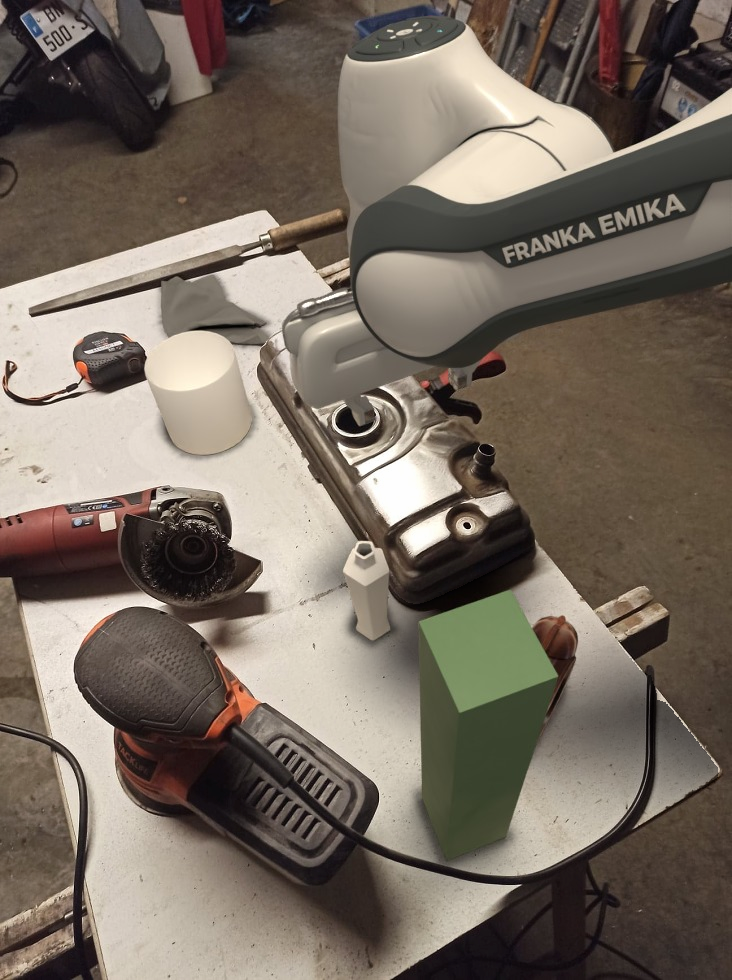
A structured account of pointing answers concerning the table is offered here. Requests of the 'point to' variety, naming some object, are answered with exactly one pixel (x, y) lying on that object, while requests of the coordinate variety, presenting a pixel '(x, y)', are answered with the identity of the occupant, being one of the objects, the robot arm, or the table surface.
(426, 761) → the block
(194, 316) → the cloth
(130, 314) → the table surface
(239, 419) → the cup
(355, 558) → the white faceted bottle
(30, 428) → the table surface
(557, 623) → the brown ribbed piece
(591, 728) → the table surface
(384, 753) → the table surface
